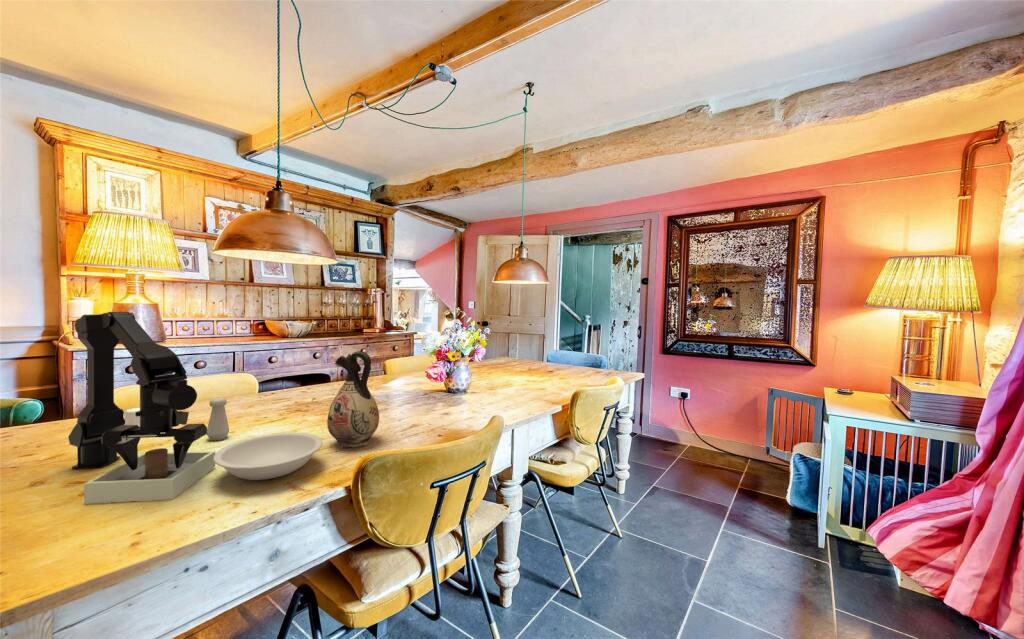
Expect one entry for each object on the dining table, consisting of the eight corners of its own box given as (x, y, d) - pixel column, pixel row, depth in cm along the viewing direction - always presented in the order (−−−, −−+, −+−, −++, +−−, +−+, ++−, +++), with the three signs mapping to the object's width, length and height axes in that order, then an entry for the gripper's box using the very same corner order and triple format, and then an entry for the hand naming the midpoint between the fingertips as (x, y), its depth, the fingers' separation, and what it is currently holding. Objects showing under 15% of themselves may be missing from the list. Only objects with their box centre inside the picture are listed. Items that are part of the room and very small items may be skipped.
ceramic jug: (314, 447, 118) (316, 350, 117) (351, 432, 133) (352, 346, 131) (360, 456, 113) (362, 355, 111) (392, 439, 127) (394, 349, 126)
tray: (84, 504, 83) (84, 483, 83) (142, 470, 99) (142, 453, 99) (172, 499, 86) (172, 479, 86) (215, 467, 102) (215, 451, 102)
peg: (140, 488, 90) (140, 455, 90) (153, 480, 94) (152, 448, 94) (160, 487, 91) (160, 454, 90) (171, 479, 95) (171, 448, 94)
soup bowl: (231, 459, 108) (231, 436, 107) (326, 450, 116) (326, 429, 116) (196, 502, 85) (196, 472, 85) (316, 487, 94) (316, 460, 93)
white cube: (118, 431, 125) (118, 410, 125) (143, 425, 132) (143, 405, 132) (132, 434, 123) (132, 413, 123) (157, 428, 130) (157, 407, 130)
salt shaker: (219, 442, 119) (219, 401, 119) (201, 441, 120) (201, 400, 119) (233, 436, 125) (233, 396, 125) (216, 435, 125) (216, 395, 125)
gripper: (219, 395, 101) (219, 454, 102) (137, 396, 98) (137, 456, 98) (192, 407, 90) (192, 472, 91) (99, 408, 87) (99, 476, 87)
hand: (156, 468), depth 92 cm, fingers open, 9 cm apart
